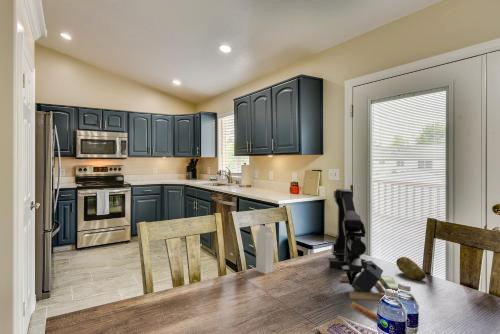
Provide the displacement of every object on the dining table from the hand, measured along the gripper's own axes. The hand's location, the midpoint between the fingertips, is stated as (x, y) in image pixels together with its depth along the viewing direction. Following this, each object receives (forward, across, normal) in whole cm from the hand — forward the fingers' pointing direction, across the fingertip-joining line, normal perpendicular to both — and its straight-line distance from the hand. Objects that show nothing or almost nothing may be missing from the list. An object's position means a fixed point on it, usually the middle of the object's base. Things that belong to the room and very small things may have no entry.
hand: (350, 284), depth 122 cm
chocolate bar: (+3, +2, -18) cm, 19 cm away
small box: (+1, +4, 0) cm, 4 cm away
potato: (+1, +31, +18) cm, 36 cm away
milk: (+3, -37, +15) cm, 40 cm away
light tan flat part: (+2, +9, +1) cm, 9 cm away
